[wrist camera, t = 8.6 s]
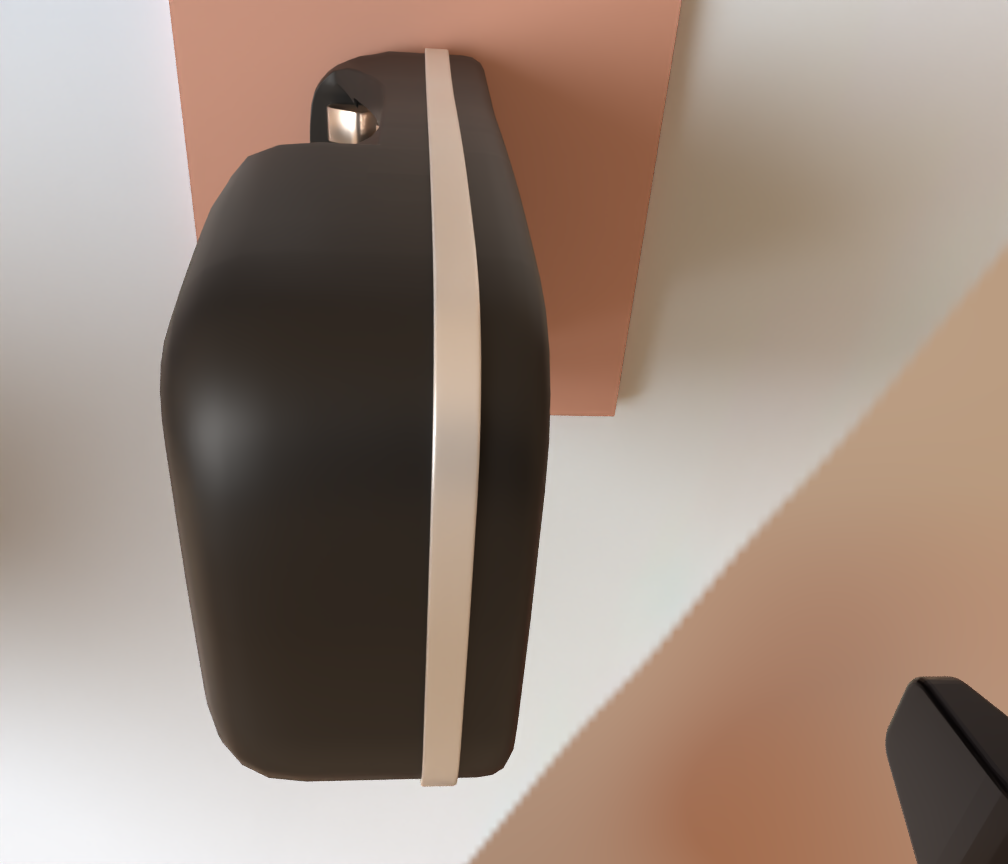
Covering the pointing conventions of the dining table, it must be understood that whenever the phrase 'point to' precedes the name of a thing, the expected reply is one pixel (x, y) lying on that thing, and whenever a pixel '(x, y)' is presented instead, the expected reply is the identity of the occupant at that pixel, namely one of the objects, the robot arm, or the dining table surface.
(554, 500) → the dining table surface
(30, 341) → the dining table surface
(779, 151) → the dining table surface
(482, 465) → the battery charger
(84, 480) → the dining table surface
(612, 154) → the mat
